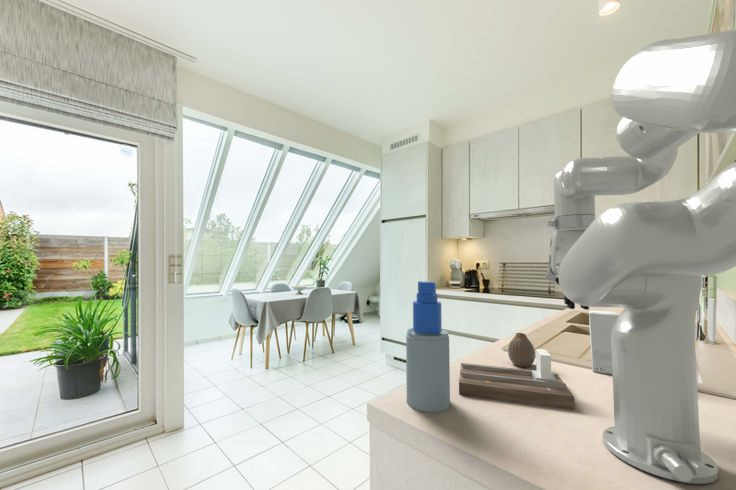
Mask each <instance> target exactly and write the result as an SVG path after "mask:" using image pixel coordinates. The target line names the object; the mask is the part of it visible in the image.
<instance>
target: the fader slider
mask: <svg viewBox="0 0 736 490" xmlns="http://www.w3.org/2000/svg"><path fill="white" fill-rule="evenodd" d="M551 359H552V356H551V354H550V353H549V352H548V350H547V349H542V348H536V349H535V361H536V367H535V368H536V369H535V370H534V369H533V370H532V369H531V370H532V376H533V378H534V380H540V381H549V382H557V380H556V378H555V377H554V375H553V374H552V373H551V372H552V360H551Z"/></svg>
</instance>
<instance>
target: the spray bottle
mask: <svg viewBox="0 0 736 490" xmlns="http://www.w3.org/2000/svg"><path fill="white" fill-rule="evenodd" d="M442 324H443V322H442V302H441V301H439V300H438V293H437V284H436V281H422V280H421V281H420V280H419V281H417V293H416V300H414V301H412V328H408V329H407V331H406V335H405V338H406V339H405V341H406V342H405V347H406V349H405V352H406V354H405V355H406V359H405V360H406V361H405V362H406V363H405V364H406V367H405V368H406V379H405V380H406V381H405V382H406V403H407V405H408V406H409V407H411V408H412V409H414V410H417V411H420V412H425V413H439V412H444V411H446V410H447V409H449V408H450V405H451V393H450V392H451V380H450V377H451V376H450V372H451V371H450V370H451V369H450V336H449V332H448V331H447V330H446V329H442V326H443V325H442Z"/></svg>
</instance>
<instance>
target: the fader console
mask: <svg viewBox="0 0 736 490" xmlns="http://www.w3.org/2000/svg"><path fill="white" fill-rule="evenodd" d="M551 373H552V374H553V375H554V377H555V378H556V380H557V382H549V381H540V380H534V378H533V376H532V369H523V368H512V367H505V366H504V367H503V366H494V365H483V364H474V363H467V362H466V363H465V362H460V370H459V380H458V395H461V396H462V395H463V396H471V397H478V398H485V399H494V400H500V401H507V402H515V403H522V404H528V405H529V404H530V405H538V406H544V407H546V406H547V407H553V408H560V409H568V410H575V409H576V407H575V406H576V405H575V396H574V394H573V393H572V391H571V390H570V388H569V387H568V386H567V383H565V382H564V381H563V379H562V378H561V377H560V375H559V373H557V372H552V371H551ZM575 411H576V410H575Z"/></svg>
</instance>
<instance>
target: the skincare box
mask: <svg viewBox="0 0 736 490" xmlns="http://www.w3.org/2000/svg"><path fill="white" fill-rule="evenodd" d="M588 313H589V315H588V316H589V317H588V319H589V320H588V321H589V322H588V323H589V342H590V356H591V359H590V360H591V369H592V370H591V371H592V372H595V373H600V374H605V375H610V376H611V375H612V350H611V333H612V328H613V325H614V323H615V321H616V319H617V318H618V316H619V313H618V312H617V311H612V310H611V311H610V310H609V311H608V310H593V309H592V310H589V311H588ZM612 376H613V375H612Z"/></svg>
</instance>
